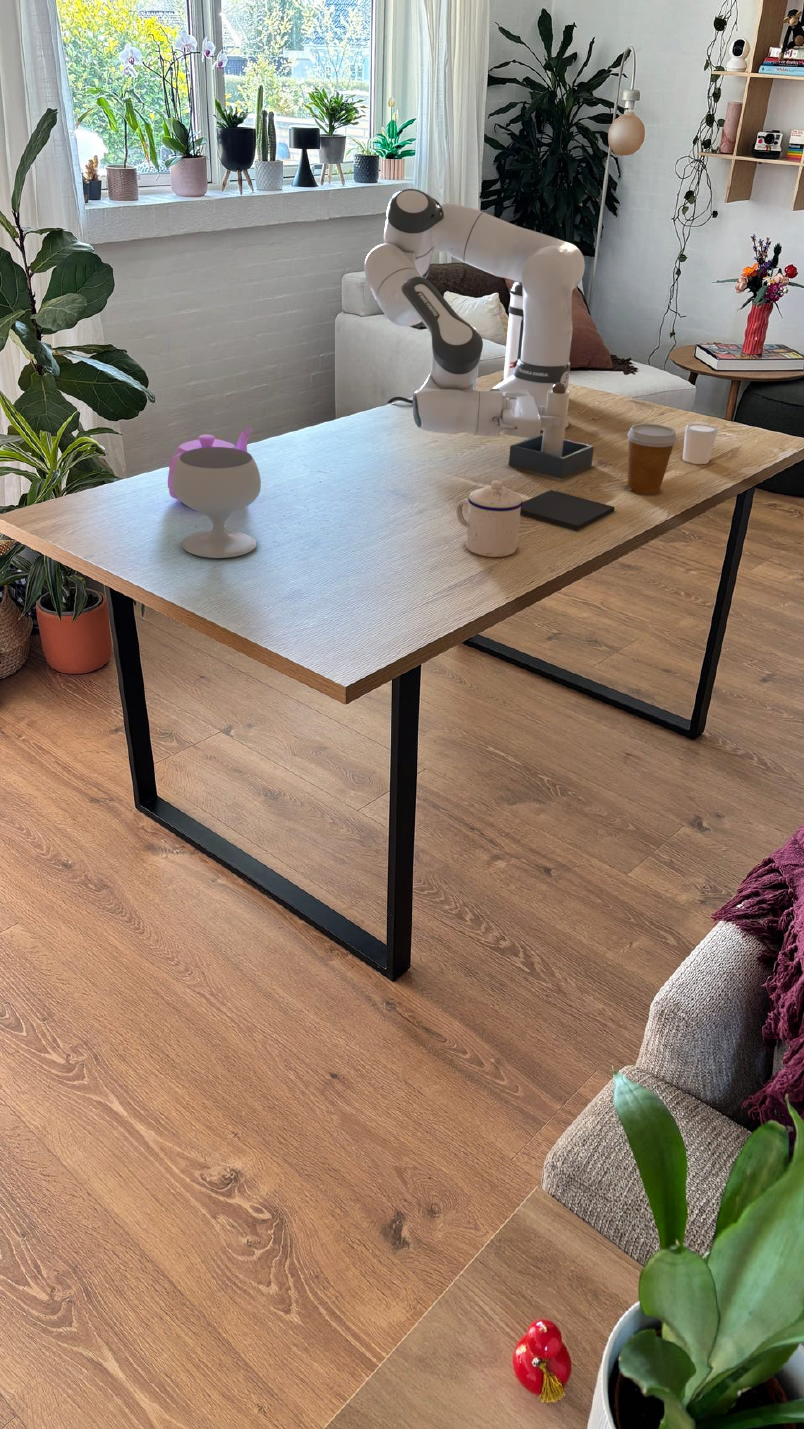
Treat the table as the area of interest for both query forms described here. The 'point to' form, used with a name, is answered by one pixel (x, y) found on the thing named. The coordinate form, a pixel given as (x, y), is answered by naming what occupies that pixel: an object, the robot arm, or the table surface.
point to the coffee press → (514, 328)
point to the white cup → (698, 443)
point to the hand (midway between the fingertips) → (560, 417)
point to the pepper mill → (556, 407)
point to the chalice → (217, 496)
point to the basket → (551, 457)
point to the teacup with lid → (491, 520)
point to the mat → (564, 510)
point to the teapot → (202, 443)
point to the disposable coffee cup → (648, 456)
